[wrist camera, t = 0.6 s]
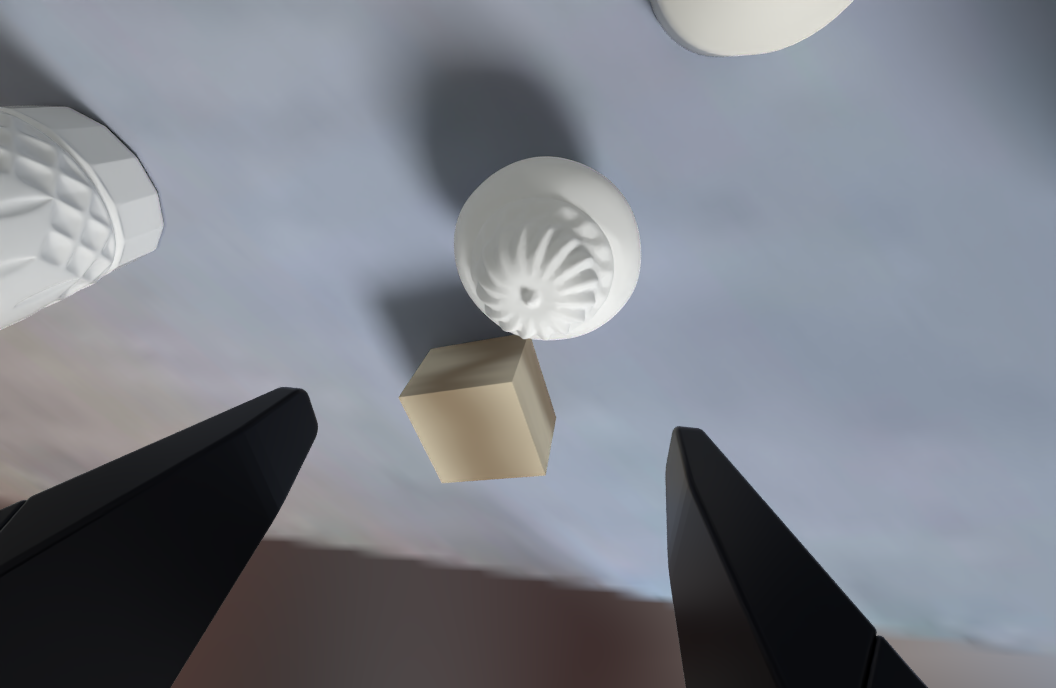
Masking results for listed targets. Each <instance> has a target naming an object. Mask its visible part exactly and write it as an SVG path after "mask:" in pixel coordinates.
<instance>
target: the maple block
mask: <svg viewBox="0 0 1056 688" xmlns="http://www.w3.org/2000/svg"><path fill="white" fill-rule="evenodd" d="M399 399H400V401H401V403H402V405H403V407H404V409H405V411H406V413H407V415H408V417H409V419H410V421H411V423H412V425H413V427H414V429H415V431H416V433H417V435H418V437H419V439H420V441H421V443H422V445H423V447H424V449H425V451H426V453H427V455H428V457H429V459H430V461H431V462H432V464H433V466H434V468H435V470H436V472H437V474H438V476H439V478H440V480H441V482H442V483H450V482H463V481H477V480H490V479H504V478H517V477H531V476H544V475H546V470H547V464H548V459H549V454H550V448H551V443H552V437H553V432H554V426H555V421H556V416H555V412H554V409H553V406H552V403H551V400H550V397H549V393H548V390H547V387H546V384H545V381H544V378H543V375H542V371H541V368H540V365H539V362H538V359H537V356H536V353H535V349H534V346H533V343H532V340H531V339H530V338H528V339H522V338H521V337H520V336H518V335H510V336H504V337H498V338H492V339H486V340H480V341H474V342H468V343H462V344H456V345H450V346H445V347H439V348H433V349H430V351H429V352H428V354H427V355H426V357H425V358H424V360H423V361H422V363H421V364H420V366H419V367H418V369H417V370H416V372H415V373H414V375H413V376H412V378H411V379H410V381H409V382H408V384H407V385H406V387H405V388H404V390H403V391H402V393H401V394H400V396H399Z"/></svg>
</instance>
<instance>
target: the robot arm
mask: <svg viewBox="0 0 1056 688" xmlns="http://www.w3.org/2000/svg"><path fill="white" fill-rule="evenodd" d="M317 431H318V423H317V420H316V417H315V414H314V411H313V408H312V405H311V402H310V399H309V396H308V394H307V392H306V391H305V390H303V389H300V388H291V387H280V388H277V389H275V390H273V391H271V392H268V393H266V394H264V395H261V396H259V397H257V398H255V399H252V400H250V401H248V402H246V403H243V404H241V405H239V406H236V407H234V408H232V409H230V410H227V411H225V412H223V413H220V414H218V415H216V416H214V417H211V418H209V419H207V420H204V421H202V422H200V423H198V424H195V425H193V426H191V427H188V428H186V429H184V430H182V431H179V432H177V433H175V434H172V435H170V436H168V437H166V438H163V439H161V440H159V441H157V442H154V443H152V444H150V445H147V446H145V447H143V448H141V449H138V450H136V451H134V452H131V453H129V454H127V455H125V456H122V457H120V458H118V459H115V460H113V461H111V462H109V463H106V464H104V465H102V466H99V467H97V468H95V469H93V470H90V471H88V472H86V473H84V474H81V475H79V476H77V477H74V478H72V479H70V480H68V481H65V482H63V483H61V484H58V485H56V486H54V487H52V488H49V489H47V490H45V491H42V492H40V493H38V494H36V495H33V496H31V497H30V498H29V499H28V500H22V501H19V502H17V503H15V504H12V505H10V506H8V507H6V508H3V509H1V510H0V688H171V686H172V684H173V683H174V681H175V679H176V678H177V676H178V675H179V673H180V671H181V669H182V668H183V666H184V665H185V663H186V661H187V660H188V658H189V657H190V655H191V653H192V652H193V650H194V648H195V647H196V645H197V644H198V642H199V641H200V639H201V637H202V636H203V634H204V632H205V631H206V629H207V627H208V626H209V624H210V623H211V621H212V620H213V618H214V616H215V615H216V613H217V611H218V610H219V608H220V607H221V605H222V603H223V602H224V600H225V598H226V597H227V595H228V594H229V592H230V590H231V589H232V587H233V585H234V584H235V582H236V581H237V579H238V577H239V576H240V574H241V572H242V571H243V569H244V568H245V566H246V564H247V563H248V561H249V559H250V558H251V556H252V555H253V553H254V551H255V550H256V548H257V547H258V545H259V543H260V542H261V540H262V539H263V537H264V535H265V534H266V532H267V530H268V529H269V527H270V526H271V524H272V522H273V521H274V519H275V517H276V515H277V514H278V512H279V510H280V508H281V506H282V504H283V503H284V501H285V499H286V497H287V495H288V493H289V491H290V489H291V487H292V485H293V483H294V481H295V479H296V476H297V474H298V472H299V470H300V468H301V466H302V464H303V462H304V460H305V458H306V456H307V454H308V452H309V450H310V448H311V446H312V444H313V442H314V440H315V438H316V435H317ZM666 513H667V549H668V567H669V576H670V584H671V591H672V598H673V604H674V611H675V618H676V625H677V631H678V638H679V645H680V652H681V658H682V665H683V672H684V678H685V684H686V688H928V687H927V686H926V685H925V684H924V683H923V682H922V681H921V679H920V678H919V677H918V676H917V675H916V674H915V673H914V672H913V671H912V669H910V667H909V666H908V665H907V664H906V663H905V661H904V660H903V659H902V658H901V657H900V656H899V655H898V653H897V652H896V651H895V650H894V649H893V648H892V646H891V645H890V644H889V643H888V642H887V641H886V640H885V638H884V637H882V636H876V633H877V632H876V629H875V627H874V626H873V625H872V624H871V623H870V622H869V620H868V619H867V618H866V617H865V616H864V615H863V614H862V612H861V611H860V610H859V609H858V608H857V607H856V606H855V604H854V603H853V602H852V601H851V600H850V599H849V597H848V596H847V595H846V594H845V593H844V592H843V591H842V589H841V588H840V587H839V586H838V585H837V584H836V583H835V581H834V580H833V579H832V578H831V577H830V576H829V575H828V573H827V572H826V571H825V570H824V569H823V568H822V567H821V565H820V564H819V563H818V562H817V561H816V560H815V558H814V557H813V556H812V555H811V554H810V553H809V552H808V550H807V549H806V548H805V547H804V546H803V545H802V544H801V542H800V541H799V540H798V539H797V538H796V537H795V536H794V534H793V533H792V532H791V531H790V530H789V529H788V527H787V526H786V525H785V524H784V523H783V522H782V521H781V519H780V518H779V517H778V516H777V515H776V514H775V513H774V511H773V510H772V509H771V508H770V507H769V506H768V505H767V503H766V502H765V501H764V500H763V499H762V498H761V496H760V495H759V494H758V493H757V492H756V491H755V490H754V488H753V487H752V486H751V485H750V484H749V483H748V482H747V480H746V479H745V478H744V477H743V476H742V475H741V474H740V472H739V471H738V470H737V469H736V468H735V467H734V466H733V464H732V463H731V462H730V461H729V460H728V459H727V457H726V456H725V455H724V454H723V453H722V452H721V451H720V449H719V448H718V447H717V446H716V445H715V444H714V443H713V441H712V440H711V439H710V438H709V437H708V436H707V435H706V433H705V432H704V431H703V430H701V429H699V428H691V427H681V426H677V427H675V428H674V430H673V432H672V437H671V442H670V447H669V453H668V458H667V463H666Z"/></svg>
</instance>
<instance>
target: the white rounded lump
mask: <svg viewBox="0 0 1056 688" xmlns="http://www.w3.org/2000/svg"><path fill="white" fill-rule="evenodd" d="M650 2H651V5H652V9H653V11H654V14H655V16H656V18H657V20H658V22H659V23H660V25H661V27H662V28H663V30H664V31H665V32H666V33H667V34H668V36H669V37H670V38H671V39H672V40H673V41H675V42H676V43H677V44H678V45H679V46H681V47H683V48H685V49H686V50H688V51H690V52H693V53H696V54H698V55H703V56H708V57H729V56H743V55H755V54H764V53H769V52H773V51H777V50H780V49H783V48H786V47H789V46H791V45H794V44H796V43H798V42H800V41H802V40H804V39H806V38H808V37H809V36H811V35H813V34H814V33H816V32H817V31H819V30H820V29H822V28H823V27H825V26H826V25H827V24H828V23H830V22H831V21H832V20H833V19H835V18H836V17H837V16H838V15H839V14H840V13H841V12H842V11H843V10H844V9H845V8H846V7H848V6H849V5H850V4H851V3H852V2H853V0H650Z"/></svg>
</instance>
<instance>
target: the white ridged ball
mask: <svg viewBox="0 0 1056 688" xmlns="http://www.w3.org/2000/svg"><path fill="white" fill-rule="evenodd" d="M454 254H455V261H456V266H457V270H458V274H459V276H460V279H461V281H462V284H463V286H464V288H465V290H466V291H467V293H468V294H469V296H470V297H471V299H472V300H473V302H474V303H475V304H476V305H477V306H478V307H479V309H480V310H481V311H482V312H483V313H484V314H485V315H486V316H487V317H488V318H490V319H491V320H492V321H493V322H495V323H496V324H497V325H499V326H500V327H501V328H502V330H504V331H506V332H511V333H513V334H515V335H518V336H520V337H521V338H522V339H528V338H530V339H537V340H544V341H545V340H561V339H568V338H573V337H577V336H581V335H584V334H587V333H589V332H591V331H593V330H595V329H597V328H599V327H600V326H602V325H603V324H605V323H606V322H608V321H609V320H610V319H611V318H613V317H614V316H615V315H616V314H617V313H618V312H619V311H620V310H621V309H622V308H623V306H624V305H625V304H626V302H627V301H628V300H629V298H630V296H631V295H632V293H633V291H634V289H635V286H636V284H637V281H638V277H639V272H640V266H641V243H640V236H639V230H638V226H637V223H636V220H635V217H634V214H633V212H632V210H631V208H630V206H629V204H628V202H627V200H626V199H625V197H624V196H623V195H622V193H621V192H620V191H619V189H618V188H617V187H616V186H615V185H614V184H613V183H612V182H611V181H610V180H608V179H607V178H606V177H605V176H603V175H602V174H600V173H599V172H597V171H596V170H594V169H592V168H590V167H588V166H586V165H584V164H582V163H579V162H576V161H573V160H569V159H565V158H560V157H551V156H543V157H533V158H527V159H524V160H520V161H517V162H514V163H512V164H510V165H508V166H506V167H504V168H502V169H500V170H499V171H497V172H495V173H494V174H493V175H491V176H490V177H489V178H487V179H486V180H485V181H484V182H483V183H482V184H481V185H480V186H479V187H478V188H477V189H476V190H475V191H474V192H473V193H472V194H471V195H470V197H469V198H468V200H467V201H466V203H465V204H464V206H463V208H462V210H461V212H460V214H459V217H458V220H457V223H456V228H455V234H454Z"/></svg>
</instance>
